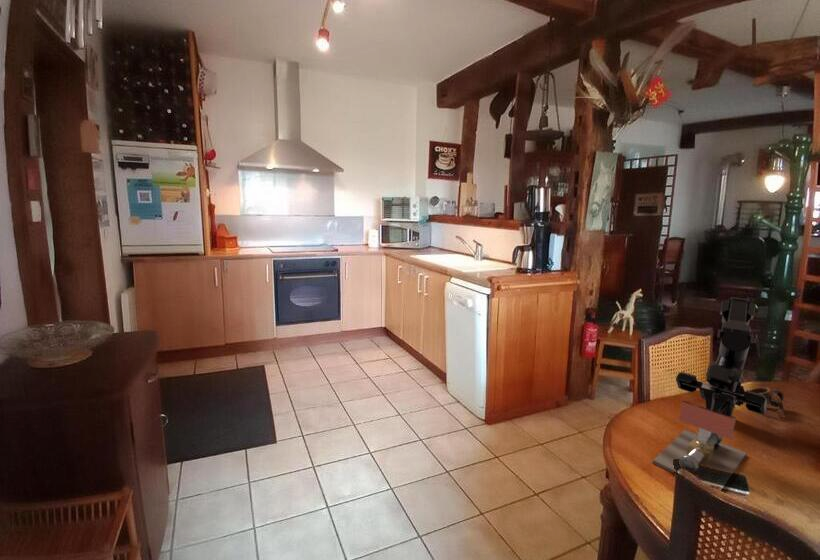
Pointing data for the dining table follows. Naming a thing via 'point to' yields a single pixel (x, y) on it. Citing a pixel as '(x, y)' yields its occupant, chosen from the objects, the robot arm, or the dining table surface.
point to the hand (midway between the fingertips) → (708, 420)
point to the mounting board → (721, 460)
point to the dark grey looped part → (772, 398)
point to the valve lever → (707, 421)
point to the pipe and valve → (700, 453)
